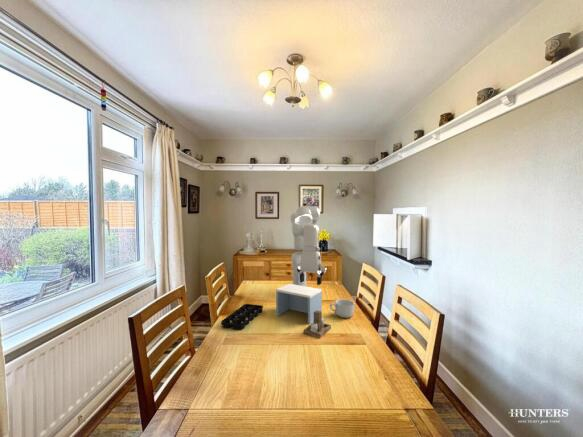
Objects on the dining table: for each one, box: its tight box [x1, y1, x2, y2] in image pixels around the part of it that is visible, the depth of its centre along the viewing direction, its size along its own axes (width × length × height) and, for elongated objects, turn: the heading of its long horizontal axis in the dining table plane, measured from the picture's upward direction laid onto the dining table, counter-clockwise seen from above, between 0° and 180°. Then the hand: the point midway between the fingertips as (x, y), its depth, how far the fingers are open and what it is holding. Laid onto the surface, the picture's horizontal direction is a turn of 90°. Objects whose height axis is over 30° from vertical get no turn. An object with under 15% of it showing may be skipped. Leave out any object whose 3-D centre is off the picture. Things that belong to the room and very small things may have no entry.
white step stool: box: [275, 283, 323, 325], centre depth 152 cm, size 14×22×15 cm, turn 58°
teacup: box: [329, 298, 355, 319], centre depth 152 cm, size 14×11×8 cm
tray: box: [303, 310, 332, 339], centre depth 132 cm, size 12×9×10 cm
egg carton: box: [220, 303, 264, 331], centre depth 147 cm, size 18×30×4 cm, turn 175°
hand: (310, 283), depth 133 cm, fingers open, 9 cm apart
